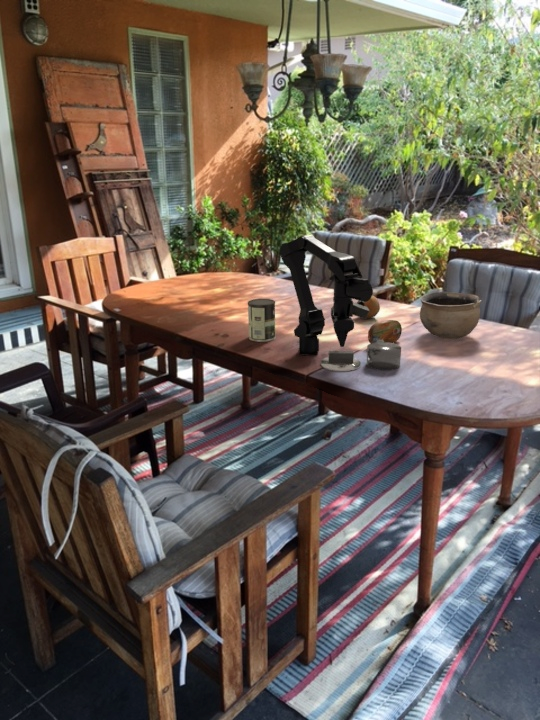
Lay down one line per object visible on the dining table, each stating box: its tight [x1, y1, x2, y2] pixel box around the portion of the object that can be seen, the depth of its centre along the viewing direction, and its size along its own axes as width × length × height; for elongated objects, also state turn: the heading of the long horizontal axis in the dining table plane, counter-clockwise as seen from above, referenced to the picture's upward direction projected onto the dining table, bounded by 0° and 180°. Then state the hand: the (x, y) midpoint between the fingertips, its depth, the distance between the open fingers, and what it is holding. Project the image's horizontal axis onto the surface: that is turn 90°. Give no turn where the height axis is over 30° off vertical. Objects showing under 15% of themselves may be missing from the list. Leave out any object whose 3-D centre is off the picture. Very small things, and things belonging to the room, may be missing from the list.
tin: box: [367, 319, 403, 344], centre depth 219 cm, size 15×3×8 cm, turn 125°
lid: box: [320, 350, 362, 372], centre depth 199 cm, size 13×13×5 cm
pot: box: [366, 340, 402, 371], centre depth 201 cm, size 11×16×6 cm
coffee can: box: [247, 298, 276, 343], centre depth 226 cm, size 10×10×14 cm
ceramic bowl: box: [419, 291, 482, 340], centre depth 226 cm, size 22×22×15 cm
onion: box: [357, 294, 381, 320], centre depth 252 cm, size 10×10×10 cm
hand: (341, 342), depth 198 cm, fingers open, 9 cm apart
